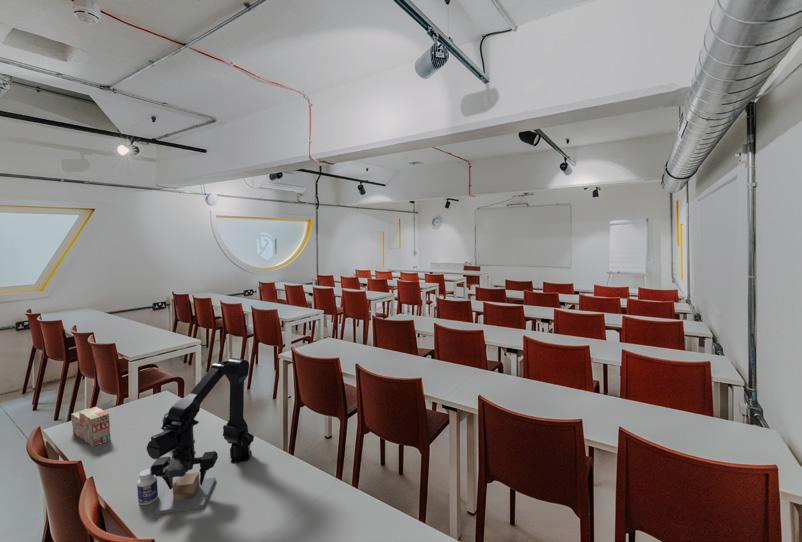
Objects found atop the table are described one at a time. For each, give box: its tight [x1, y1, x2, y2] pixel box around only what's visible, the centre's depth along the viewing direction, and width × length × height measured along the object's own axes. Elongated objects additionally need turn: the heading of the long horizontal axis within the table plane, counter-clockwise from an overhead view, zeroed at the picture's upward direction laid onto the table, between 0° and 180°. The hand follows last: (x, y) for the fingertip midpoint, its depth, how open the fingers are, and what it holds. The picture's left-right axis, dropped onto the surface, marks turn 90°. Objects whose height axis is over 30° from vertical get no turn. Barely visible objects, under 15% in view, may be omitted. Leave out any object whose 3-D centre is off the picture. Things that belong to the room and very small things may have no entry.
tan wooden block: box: [173, 471, 200, 501], centre depth 124 cm, size 6×6×5 cm
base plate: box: [153, 477, 217, 516], centre depth 124 cm, size 14×14×1 cm
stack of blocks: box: [70, 406, 111, 447], centre depth 162 cm, size 21×6×12 cm, turn 59°
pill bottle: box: [136, 468, 159, 506], centre depth 122 cm, size 5×5×10 cm
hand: (186, 486), depth 124 cm, fingers open, 9 cm apart
